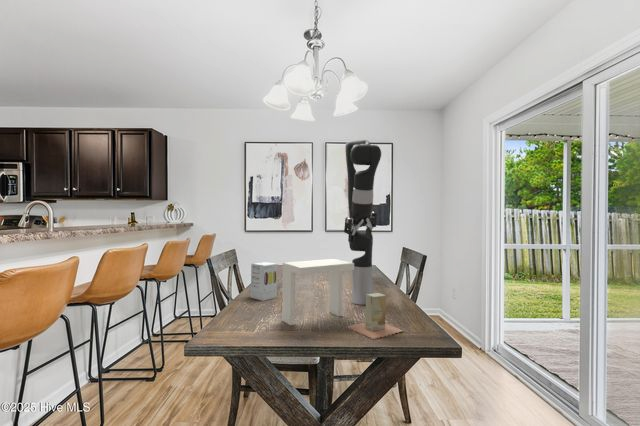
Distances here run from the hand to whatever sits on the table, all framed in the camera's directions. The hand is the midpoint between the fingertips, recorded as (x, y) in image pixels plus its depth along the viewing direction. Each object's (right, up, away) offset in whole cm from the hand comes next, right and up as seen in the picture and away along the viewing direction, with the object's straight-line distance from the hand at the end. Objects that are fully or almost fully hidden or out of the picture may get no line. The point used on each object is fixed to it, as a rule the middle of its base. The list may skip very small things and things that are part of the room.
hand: (359, 240), depth 132 cm
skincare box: (+5, -31, -7) cm, 32 cm away
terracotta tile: (+5, -32, -7) cm, 33 cm away
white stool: (-16, -31, +3) cm, 35 cm away
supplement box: (-43, -31, +38) cm, 65 cm away
